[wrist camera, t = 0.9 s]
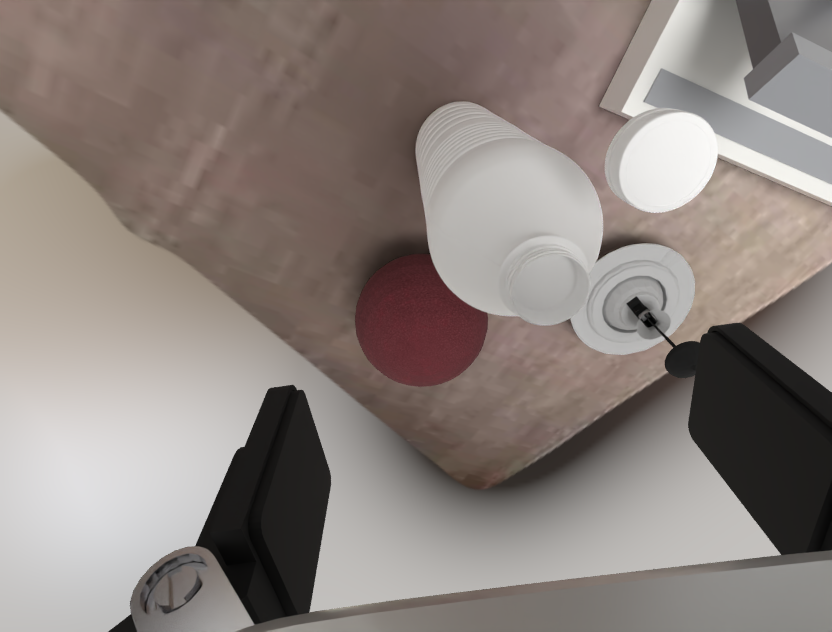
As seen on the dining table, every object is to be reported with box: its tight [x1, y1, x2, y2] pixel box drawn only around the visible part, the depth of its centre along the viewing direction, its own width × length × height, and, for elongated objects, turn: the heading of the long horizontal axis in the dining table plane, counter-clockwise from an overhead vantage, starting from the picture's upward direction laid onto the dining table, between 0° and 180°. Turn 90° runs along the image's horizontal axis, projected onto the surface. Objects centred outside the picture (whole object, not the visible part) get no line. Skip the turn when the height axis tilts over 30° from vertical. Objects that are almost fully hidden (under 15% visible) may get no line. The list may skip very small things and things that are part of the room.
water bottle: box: [415, 101, 718, 326], centre depth 24 cm, size 9×6×25 cm
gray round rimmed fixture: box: [570, 243, 700, 378], centre depth 36 cm, size 12×10×10 cm
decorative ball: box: [355, 254, 488, 387], centre depth 37 cm, size 10×10×10 cm
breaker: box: [736, 0, 832, 138], centre depth 24 cm, size 2×5×11 cm
